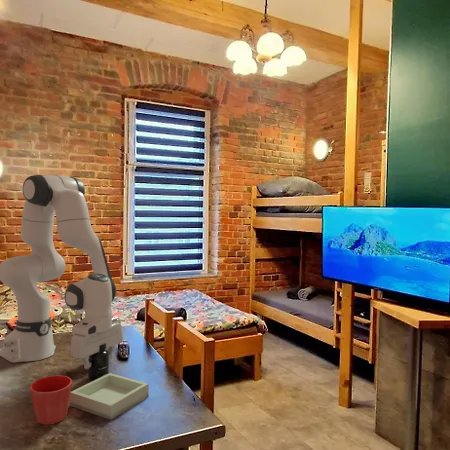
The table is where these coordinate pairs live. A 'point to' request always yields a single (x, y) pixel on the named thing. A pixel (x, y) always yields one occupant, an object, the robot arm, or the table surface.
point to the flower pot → (51, 398)
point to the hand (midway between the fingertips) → (98, 363)
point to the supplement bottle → (99, 363)
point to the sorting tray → (109, 395)
